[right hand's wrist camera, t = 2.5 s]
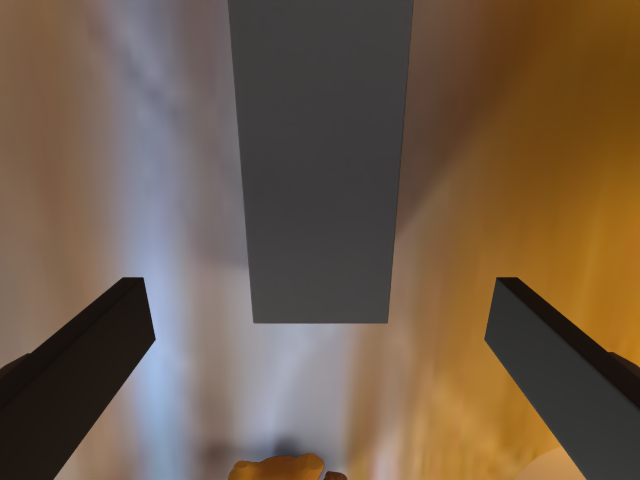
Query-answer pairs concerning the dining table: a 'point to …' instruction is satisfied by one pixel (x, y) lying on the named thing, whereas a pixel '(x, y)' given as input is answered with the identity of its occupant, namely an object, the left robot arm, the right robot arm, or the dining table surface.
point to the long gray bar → (320, 152)
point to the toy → (283, 469)
